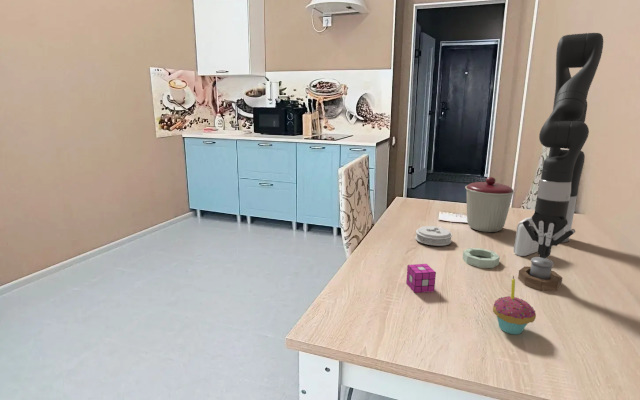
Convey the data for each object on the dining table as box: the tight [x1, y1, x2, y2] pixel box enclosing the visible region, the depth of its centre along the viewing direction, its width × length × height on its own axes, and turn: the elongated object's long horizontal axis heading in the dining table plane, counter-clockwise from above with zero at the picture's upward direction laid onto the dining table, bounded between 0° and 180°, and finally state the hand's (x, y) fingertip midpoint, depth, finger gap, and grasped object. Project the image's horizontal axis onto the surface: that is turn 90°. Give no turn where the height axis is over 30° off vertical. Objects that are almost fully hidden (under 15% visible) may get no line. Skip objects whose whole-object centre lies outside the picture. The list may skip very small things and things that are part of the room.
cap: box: [530, 256, 554, 280], centre depth 109 cm, size 5×5×6 cm
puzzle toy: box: [405, 263, 437, 294], centre depth 105 cm, size 6×6×6 cm
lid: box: [415, 225, 453, 247], centre depth 141 cm, size 13×13×5 cm
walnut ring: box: [517, 266, 563, 292], centre depth 110 cm, size 10×10×2 cm
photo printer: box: [513, 216, 539, 257], centre depth 130 cm, size 10×4×12 cm, turn 123°
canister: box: [464, 176, 516, 233], centre depth 154 cm, size 18×18×21 cm
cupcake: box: [492, 275, 537, 335], centre depth 86 cm, size 9×8×12 cm
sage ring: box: [462, 247, 501, 269], centre depth 124 cm, size 10×10×2 cm
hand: (543, 257), depth 108 cm, fingers closed
